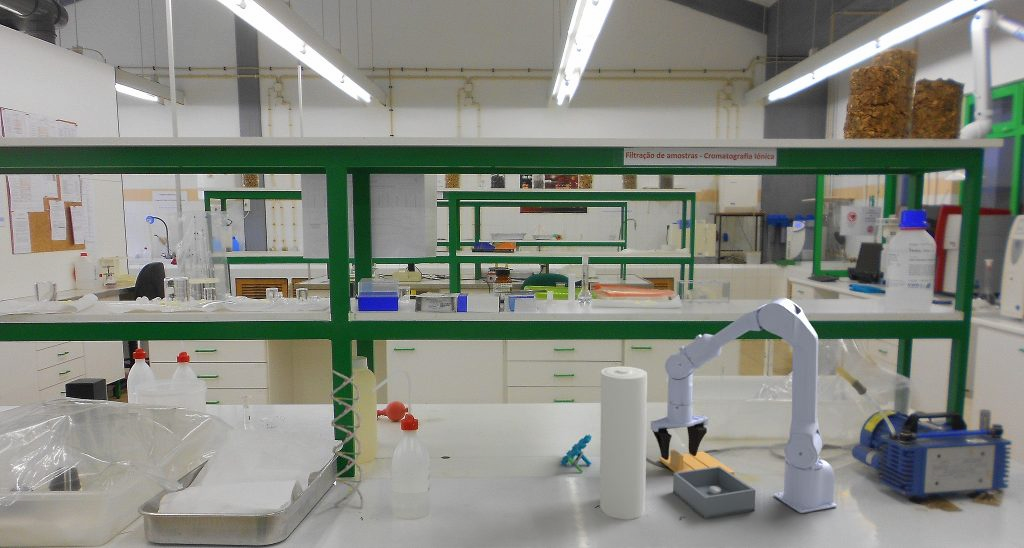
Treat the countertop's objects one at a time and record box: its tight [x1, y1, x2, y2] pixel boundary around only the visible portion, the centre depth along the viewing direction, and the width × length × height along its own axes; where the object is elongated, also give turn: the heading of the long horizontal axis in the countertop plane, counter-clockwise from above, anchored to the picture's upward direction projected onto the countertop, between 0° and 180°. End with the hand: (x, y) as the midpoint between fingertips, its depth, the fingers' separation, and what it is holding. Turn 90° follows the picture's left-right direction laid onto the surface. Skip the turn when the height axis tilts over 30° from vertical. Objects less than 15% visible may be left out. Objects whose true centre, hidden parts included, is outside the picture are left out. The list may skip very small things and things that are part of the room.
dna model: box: [329, 369, 364, 509], centre depth 121 cm, size 7×6×30 cm
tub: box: [672, 466, 756, 520], centre depth 123 cm, size 12×12×4 cm
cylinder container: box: [599, 365, 648, 520], centre depth 120 cm, size 9×9×30 cm
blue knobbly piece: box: [560, 434, 592, 473], centre depth 142 cm, size 11×6×10 cm
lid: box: [658, 449, 735, 476], centre depth 139 cm, size 13×13×5 cm
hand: (678, 456), depth 138 cm, fingers open, 7 cm apart
